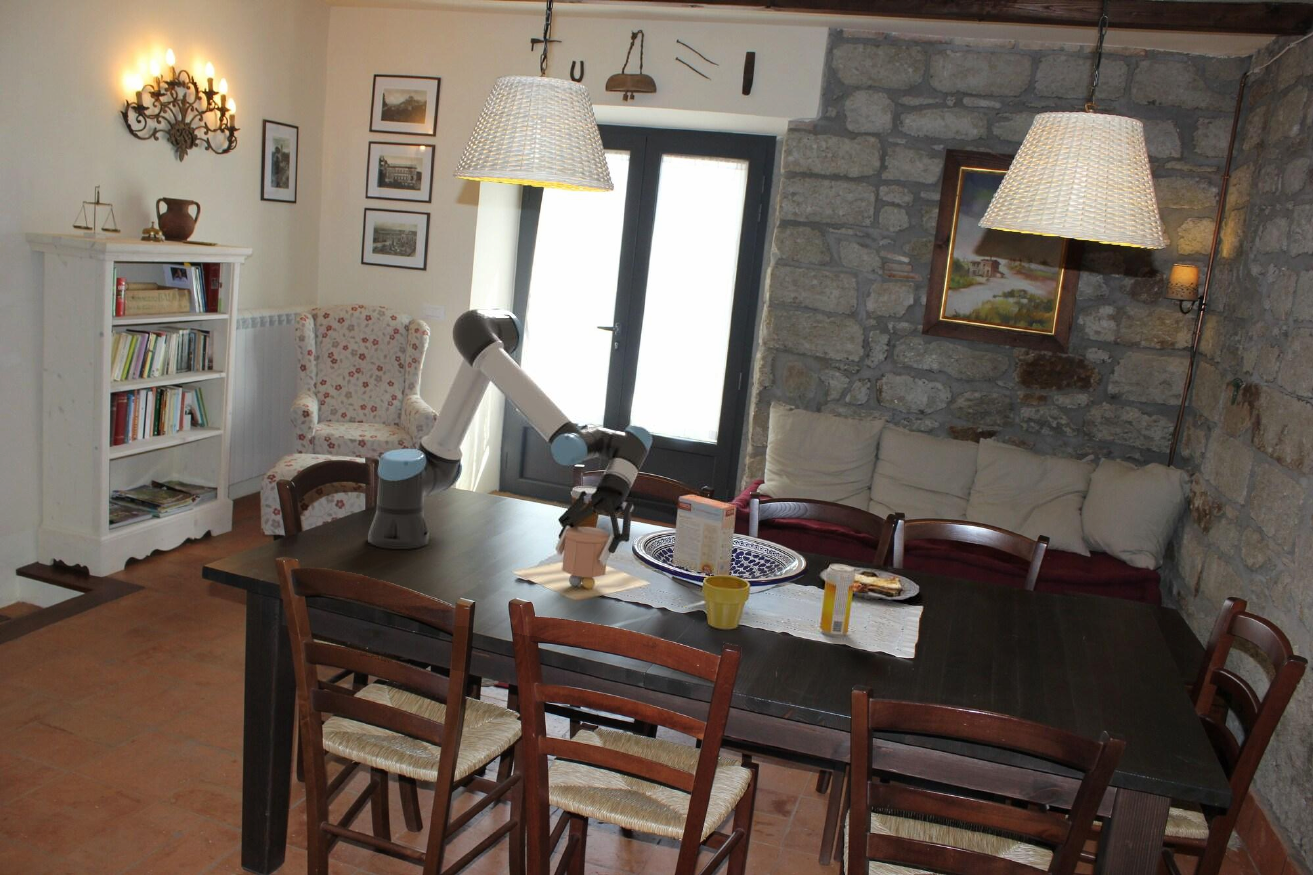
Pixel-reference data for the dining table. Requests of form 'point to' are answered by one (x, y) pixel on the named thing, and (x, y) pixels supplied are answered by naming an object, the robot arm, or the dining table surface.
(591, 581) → the marble amber
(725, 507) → the cracker box
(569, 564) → the terracotta cup
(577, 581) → the grey ball
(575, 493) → the disposable coffee cup
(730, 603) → the plant pot
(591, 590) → the bamboo mat
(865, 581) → the food plate
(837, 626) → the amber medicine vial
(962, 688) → the dining table surface
